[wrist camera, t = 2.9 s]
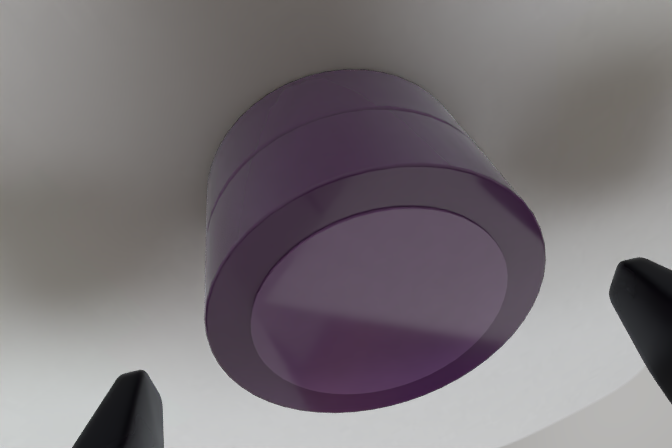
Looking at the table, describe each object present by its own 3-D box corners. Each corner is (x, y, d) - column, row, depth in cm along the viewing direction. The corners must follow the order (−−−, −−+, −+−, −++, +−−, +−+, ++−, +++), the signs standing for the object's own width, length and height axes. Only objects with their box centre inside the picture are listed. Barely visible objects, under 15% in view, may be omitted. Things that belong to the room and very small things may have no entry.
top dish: (516, 78, 9) (578, 128, 8) (488, 312, 13) (525, 376, 12) (161, 147, 9) (149, 215, 7) (245, 368, 13) (250, 443, 11)
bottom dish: (472, 42, 11) (516, 78, 9) (459, 261, 15) (488, 312, 13) (169, 99, 10) (161, 147, 9) (242, 310, 15) (245, 368, 13)
